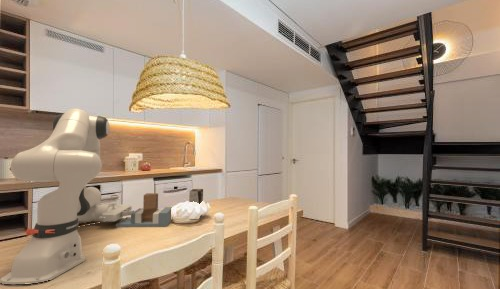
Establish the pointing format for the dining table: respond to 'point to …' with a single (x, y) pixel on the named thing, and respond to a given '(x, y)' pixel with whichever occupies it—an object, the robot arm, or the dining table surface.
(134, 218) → the vise jaw
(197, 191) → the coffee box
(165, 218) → the vise base
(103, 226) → the dining table surface
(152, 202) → the walnut block
